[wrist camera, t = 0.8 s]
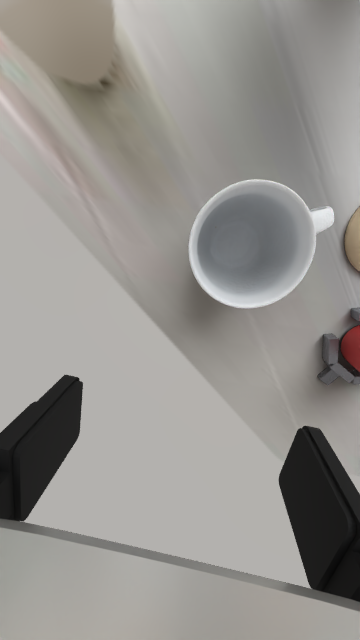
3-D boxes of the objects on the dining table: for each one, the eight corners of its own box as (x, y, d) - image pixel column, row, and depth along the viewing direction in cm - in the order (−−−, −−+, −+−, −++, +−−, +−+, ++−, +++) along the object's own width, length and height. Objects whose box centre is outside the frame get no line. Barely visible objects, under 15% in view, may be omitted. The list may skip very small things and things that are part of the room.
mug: (295, 172, 31) (354, 130, 19) (315, 259, 34) (377, 271, 22) (182, 219, 34) (168, 209, 22) (208, 295, 37) (210, 324, 25)
